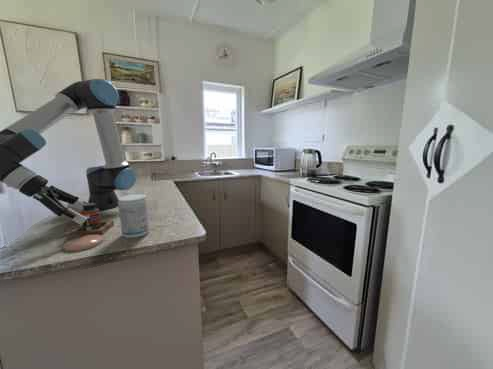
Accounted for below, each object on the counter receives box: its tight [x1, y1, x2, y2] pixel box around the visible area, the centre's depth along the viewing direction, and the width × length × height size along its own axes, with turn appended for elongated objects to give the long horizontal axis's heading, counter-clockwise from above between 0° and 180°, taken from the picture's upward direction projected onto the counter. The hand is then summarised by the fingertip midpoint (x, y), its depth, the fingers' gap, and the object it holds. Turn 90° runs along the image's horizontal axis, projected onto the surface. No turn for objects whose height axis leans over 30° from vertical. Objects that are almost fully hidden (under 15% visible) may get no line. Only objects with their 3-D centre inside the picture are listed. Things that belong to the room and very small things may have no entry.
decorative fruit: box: [66, 201, 88, 215], centre depth 95 cm, size 9×8×10 cm
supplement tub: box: [117, 194, 150, 239], centre depth 80 cm, size 10×10×15 cm
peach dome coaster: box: [63, 235, 105, 253], centre depth 73 cm, size 11×11×1 cm
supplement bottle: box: [81, 202, 102, 231], centre depth 83 cm, size 6×6×11 cm
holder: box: [67, 220, 115, 239], centre depth 84 cm, size 11×11×2 cm
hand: (87, 216), depth 82 cm, fingers open, 13 cm apart
